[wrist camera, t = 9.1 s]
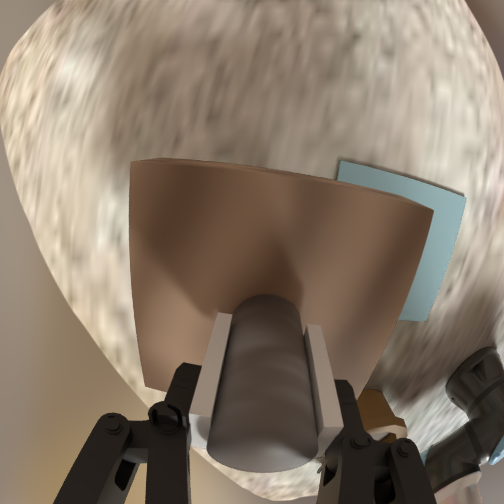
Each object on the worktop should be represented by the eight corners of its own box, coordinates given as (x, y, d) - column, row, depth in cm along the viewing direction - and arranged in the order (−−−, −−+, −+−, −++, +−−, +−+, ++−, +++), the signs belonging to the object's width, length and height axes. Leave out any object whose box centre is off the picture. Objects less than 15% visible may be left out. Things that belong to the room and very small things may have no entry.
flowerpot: (367, 426, 47) (391, 541, 19) (310, 421, 46) (319, 556, 18) (406, 384, 42) (454, 513, 14) (347, 376, 41) (382, 540, 13)
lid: (400, 195, 17) (545, 272, 5) (340, 373, 23) (367, 499, 11) (162, 157, 17) (2, 190, 5) (162, 350, 23) (108, 472, 11)
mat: (464, 197, 29) (466, 197, 29) (424, 319, 36) (425, 321, 36) (340, 160, 29) (341, 160, 29) (307, 310, 37) (307, 312, 36)
